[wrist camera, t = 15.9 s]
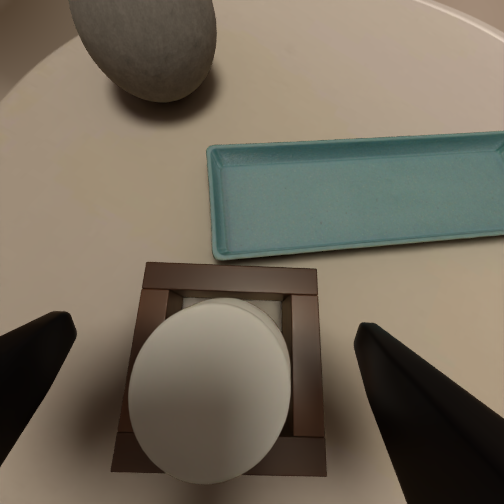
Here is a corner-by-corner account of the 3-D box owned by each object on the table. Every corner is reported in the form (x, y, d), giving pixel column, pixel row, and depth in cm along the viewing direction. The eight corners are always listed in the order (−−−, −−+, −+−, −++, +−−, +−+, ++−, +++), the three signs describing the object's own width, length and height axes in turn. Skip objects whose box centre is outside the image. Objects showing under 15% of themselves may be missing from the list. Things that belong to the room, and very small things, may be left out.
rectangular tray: (497, 145, 23) (526, 124, 20) (542, 239, 20) (583, 226, 17) (209, 165, 21) (205, 143, 19) (216, 269, 18) (212, 260, 16)
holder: (308, 444, 15) (327, 477, 12) (139, 440, 15) (109, 473, 11) (303, 279, 18) (317, 268, 15) (163, 274, 18) (145, 261, 15)
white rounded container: (289, 365, 16) (353, 413, 7) (216, 423, 15) (171, 577, 6) (241, 294, 18) (240, 252, 8) (170, 342, 16) (73, 358, 7)
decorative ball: (221, 50, 25) (208, -121, 16) (221, 129, 22) (204, -24, 13) (121, 49, 25) (45, -128, 15) (107, 129, 22) (0, -29, 12)
